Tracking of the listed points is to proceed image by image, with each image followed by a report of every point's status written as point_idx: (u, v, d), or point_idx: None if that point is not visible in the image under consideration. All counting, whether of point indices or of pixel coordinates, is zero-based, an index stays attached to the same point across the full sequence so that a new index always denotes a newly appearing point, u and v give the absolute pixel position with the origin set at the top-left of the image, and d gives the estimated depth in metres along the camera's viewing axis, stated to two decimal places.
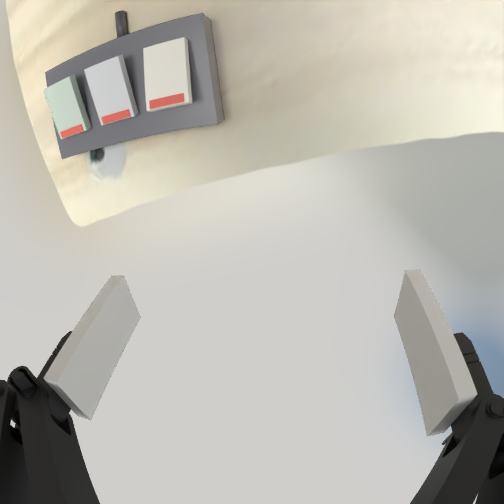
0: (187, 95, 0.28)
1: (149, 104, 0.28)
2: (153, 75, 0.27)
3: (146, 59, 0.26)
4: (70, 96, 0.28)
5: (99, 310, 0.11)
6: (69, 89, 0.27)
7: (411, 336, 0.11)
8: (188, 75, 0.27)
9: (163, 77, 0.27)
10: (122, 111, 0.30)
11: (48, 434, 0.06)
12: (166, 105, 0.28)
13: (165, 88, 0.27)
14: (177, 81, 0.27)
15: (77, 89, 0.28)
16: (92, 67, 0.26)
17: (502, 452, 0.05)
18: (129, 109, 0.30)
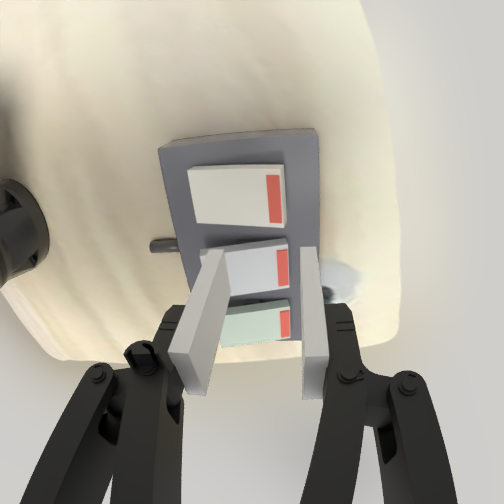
0: (270, 169, 0.22)
1: (274, 222, 0.24)
2: (235, 213, 0.25)
3: (212, 219, 0.26)
4: (240, 318, 0.31)
5: (211, 280, 0.12)
6: (230, 319, 0.31)
7: None
8: (242, 167, 0.23)
9: (239, 200, 0.24)
10: (277, 258, 0.27)
11: (158, 427, 0.07)
12: (280, 200, 0.23)
13: (255, 199, 0.24)
14: (248, 182, 0.23)
15: (234, 308, 0.31)
16: None
17: (391, 432, 0.08)
18: (276, 249, 0.27)
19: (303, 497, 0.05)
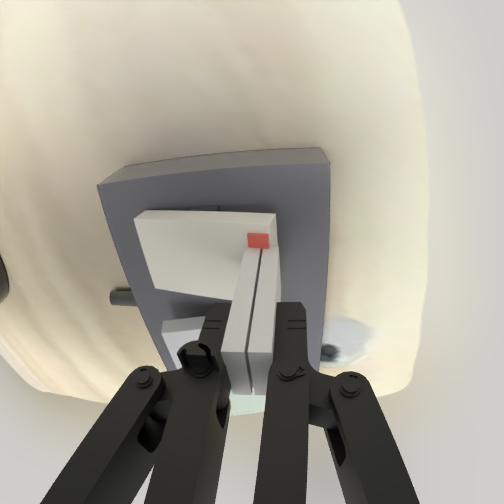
0: (254, 225, 0.14)
1: None
2: (204, 281, 0.17)
3: (175, 286, 0.18)
4: None
5: (254, 277, 0.12)
6: None
7: None
8: (211, 217, 0.15)
9: (209, 265, 0.16)
10: None
11: (206, 434, 0.07)
12: None
13: (233, 266, 0.16)
14: (221, 242, 0.15)
15: None
16: (178, 366, 0.21)
17: None
18: None
19: (255, 496, 0.05)
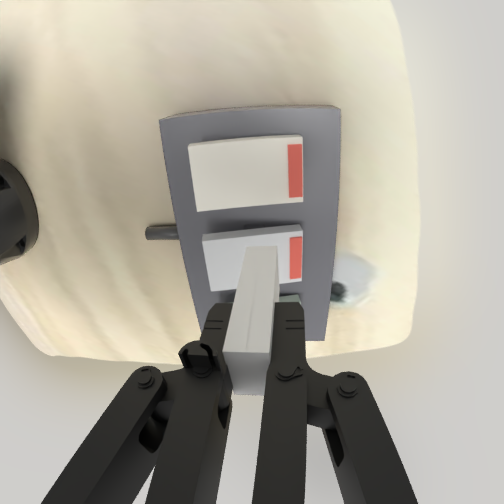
0: (291, 138, 0.20)
1: (294, 197, 0.22)
2: (248, 192, 0.22)
3: (218, 204, 0.22)
4: None
5: (256, 277, 0.12)
6: None
7: None
8: (256, 138, 0.20)
9: (254, 176, 0.21)
10: (290, 247, 0.24)
11: (207, 434, 0.07)
12: (302, 171, 0.21)
13: (273, 172, 0.21)
14: (266, 154, 0.20)
15: None
16: (211, 279, 0.25)
17: None
18: (290, 236, 0.24)
19: (254, 496, 0.05)
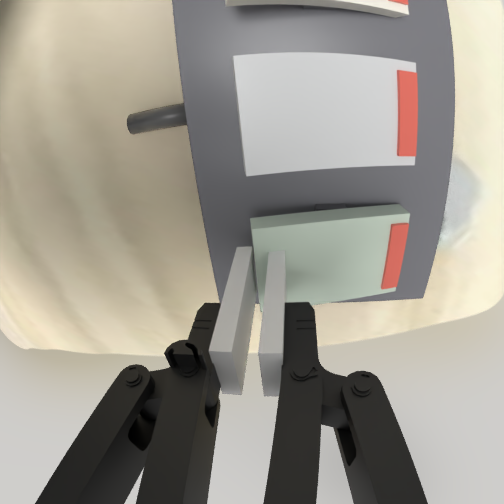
0: None
1: (397, 1, 0.08)
2: None
3: None
4: (311, 236, 0.14)
5: (244, 277, 0.12)
6: (289, 236, 0.14)
7: None
8: None
9: None
10: (400, 87, 0.10)
11: (195, 432, 0.07)
12: None
13: None
14: None
15: (296, 215, 0.14)
16: (247, 145, 0.11)
17: None
18: (397, 68, 0.10)
19: (266, 496, 0.05)
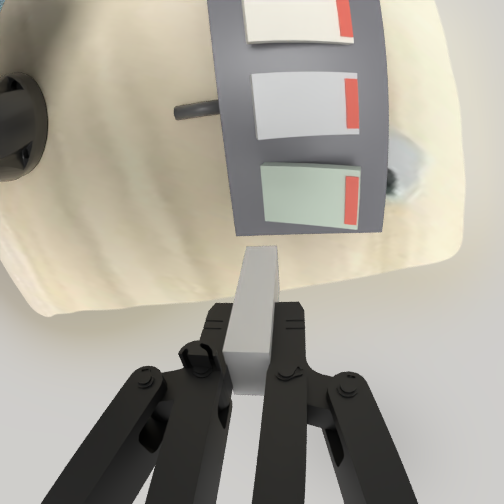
0: None
1: (346, 36, 0.17)
2: (301, 26, 0.16)
3: (271, 35, 0.17)
4: (293, 175, 0.23)
5: (256, 277, 0.12)
6: (280, 173, 0.23)
7: None
8: None
9: (306, 13, 0.16)
10: (346, 88, 0.19)
11: (207, 434, 0.07)
12: (350, 15, 0.16)
13: (324, 12, 0.16)
14: None
15: (289, 163, 0.23)
16: (259, 122, 0.20)
17: None
18: (345, 77, 0.19)
19: (254, 496, 0.05)
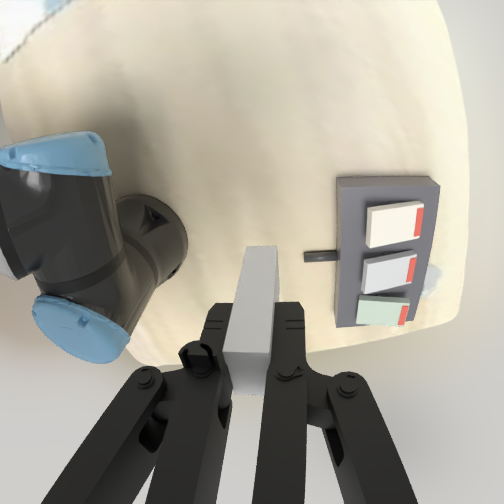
0: (419, 205, 0.33)
1: (416, 236, 0.35)
2: (396, 235, 0.35)
3: (381, 243, 0.35)
4: (375, 304, 0.41)
5: (256, 277, 0.12)
6: (369, 303, 0.42)
7: None
8: (402, 205, 0.33)
9: (400, 226, 0.34)
10: (410, 264, 0.37)
11: (207, 434, 0.07)
12: (421, 222, 0.34)
13: (409, 223, 0.34)
14: (407, 214, 0.33)
15: (373, 297, 0.42)
16: (366, 286, 0.38)
17: None
18: (410, 258, 0.37)
19: (254, 496, 0.05)
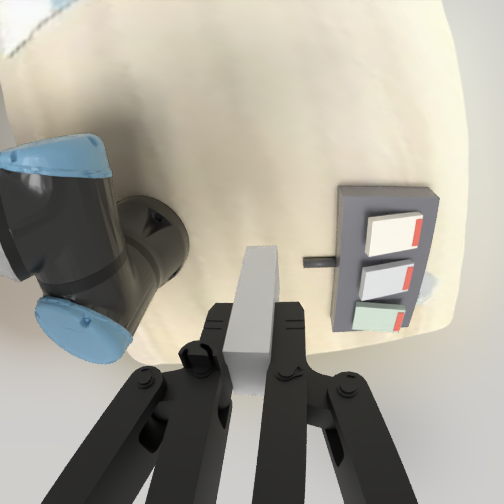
0: (418, 216, 0.34)
1: (414, 246, 0.36)
2: (395, 244, 0.36)
3: (380, 252, 0.36)
4: (372, 311, 0.42)
5: (256, 277, 0.12)
6: (366, 310, 0.43)
7: None
8: (402, 215, 0.34)
9: (399, 236, 0.35)
10: (407, 272, 0.38)
11: (207, 434, 0.07)
12: (419, 232, 0.35)
13: (407, 234, 0.35)
14: (406, 224, 0.34)
15: (370, 303, 0.43)
16: (364, 293, 0.39)
17: None
18: (408, 266, 0.38)
19: (254, 496, 0.05)
